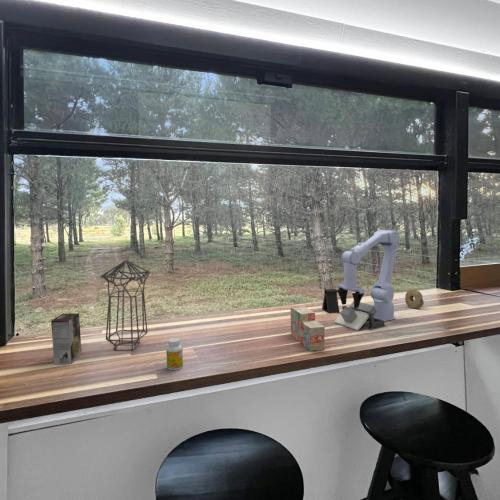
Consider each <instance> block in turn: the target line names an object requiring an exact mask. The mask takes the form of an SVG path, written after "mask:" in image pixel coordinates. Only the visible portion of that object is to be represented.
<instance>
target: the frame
mask: <svg viewBox="0 0 500 500" xmlns="http://www.w3.org/2000/svg"><path fill="white" fill-rule="evenodd" d="M345 307H348V306H347V305H342V308H341V309H342V310H343V309H344V308H345ZM342 310H341V311H342ZM354 311H356V310H354ZM356 312H359V313H363V314H366V315H369V318H368V319H367V320H366V321H365V322H367V323H368V324H369V325H368V328H369V329H370V330H374V329H375V330H376V329H378V328H382V327H385V323H386V321H384V320H380V319H377V318H374V314H373V313H371V314H367V313H364V312H360V311H356Z"/></svg>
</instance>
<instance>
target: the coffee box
mask: <svg viewBox="0 0 500 500" xmlns="http://www.w3.org/2000/svg"><path fill="white" fill-rule="evenodd" d="M50 322H51V325H50V327H51V337H52V339H51V341H52V351H53V352H52V353H53V355H52V356H53V365H56V366H57V365H72V364H73V363H74V362H75V361H76V360H77V359H78V358H79V357H80V356H81V355H83V352H82V351H83V350H82V340H81V337H82V336H81V324H80V313H61V314H60V315H58V316H57V317H55V318H54V319H52V320H51V321H50Z"/></svg>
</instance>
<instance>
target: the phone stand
mask: <svg viewBox="0 0 500 500" xmlns="http://www.w3.org/2000/svg"><path fill="white" fill-rule="evenodd" d="M337 290H338V289H337V288H329V289H324V292H323V293H324V296H323V300H322V307H321V309H322V311H324V312H325V313H328V314H337V313H338V314H339V313H340V307H339V300H338V292H337Z"/></svg>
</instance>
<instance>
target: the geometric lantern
mask: <svg viewBox="0 0 500 500" xmlns="http://www.w3.org/2000/svg"><path fill="white" fill-rule="evenodd" d="M126 264H127V268H128V271H125V267H126ZM139 269H140V270H143V271H140V270H139ZM118 274H120V277H117V275H118ZM126 274H128V275H130V276H128V275H126ZM150 274H151V271H149V270H147V269H145V268H144V267H141V266H139V265H137V264H136V263H133V262H132V261H129V260H123V261H121V262H120V263H119V264H117V265H115V266H114V267H113V268H111V269H109V270H108V271H106V272H104V273H103V274H101V275H99V278H101V279H104V280H105V281H106V282H107V294H108V295H107V296H108V305H107V319H106V330H105V331H106V332H105V340H106V342H109V344H112V345H113V349H112V350H113V351H117V352H118V351H120V352H121V351H122V352H123V351H134V350H136V349H137V347H138V346H139V345H140V343H141V339H142V338H143V337H144V336H146V335H147V334H148V324H147V323H148V321H147V311H146V301H145V286H146V285H145V284H146V281H147V279H148V278H149V277H150ZM136 275H137V276H136ZM123 276H124V277H123ZM109 278H110V279H109ZM143 279H144V280H143ZM115 280H119V282H120V284H119V283H118V284H116V283H115ZM122 280H127V281H125V282H124V283H122ZM132 281H136V282H137V284H138V287H137V290H131V293H133V292H134V293H135V294H134V295H131V294H130V292H129V290H127V286H128V284H129V283H131V282H132ZM139 281H140V283H139ZM110 284H112V285H113V289H112V290H111V291H110ZM141 285H142V287H141ZM119 287H123V288H122V290H120V289H119ZM115 288H117V290H115ZM139 289H140V290H139ZM114 290H115V291H114ZM110 292H111V293H110ZM121 292H122V295H121V296H120V293H121ZM125 292H126V293H127V295H128V296H127V295H126V296H125ZM138 292H141V293H139V294H137V293H138ZM116 293H117V295H113V294H116ZM140 295H141V306H142V307H141V309H142V311H141V312H142V315H141V316H142V329H139V316H138V315H139V314H138V302H137V297H138V296H140ZM112 298H117V305H116V306H117V308H116V309H117V310H116V326H115V331H114V332H113V333H111V317H112V316H111V315H112V313H111V312H112V310H111V307H112ZM120 298H122V306H121V307H122V314H121V315H122V319H121V320H122V323H121V329H119V330H118V325H119V310H120V308H119V307H120ZM125 298H130V299H129V300H130V302H129V303H130V304H129V305H130V329H124V325H125V324H124V323H125V321H124V320H125V316H124V315H125ZM132 298H134V300H135V301H134V304H135V305H134V306H135V318H136V329H133V301H132V300H133V299H132ZM118 332H121V337H120V335H119V333H118ZM123 332H130V333H131V334H130V335H131V336H130V337H123ZM134 332H137V337H133V336H134V335H133V333H134ZM143 332H144V333H143ZM113 335H117V337H118V339H111V337H113ZM130 339H131V340H130ZM114 342H115V343H114ZM117 343H118V344H117ZM136 344H137V345H136ZM118 346H120V347H121V346H123V347H124V346H125V347H126V346H127V347H129V346H130V347H131V349H130V348H129V349H117V348H118Z"/></svg>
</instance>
